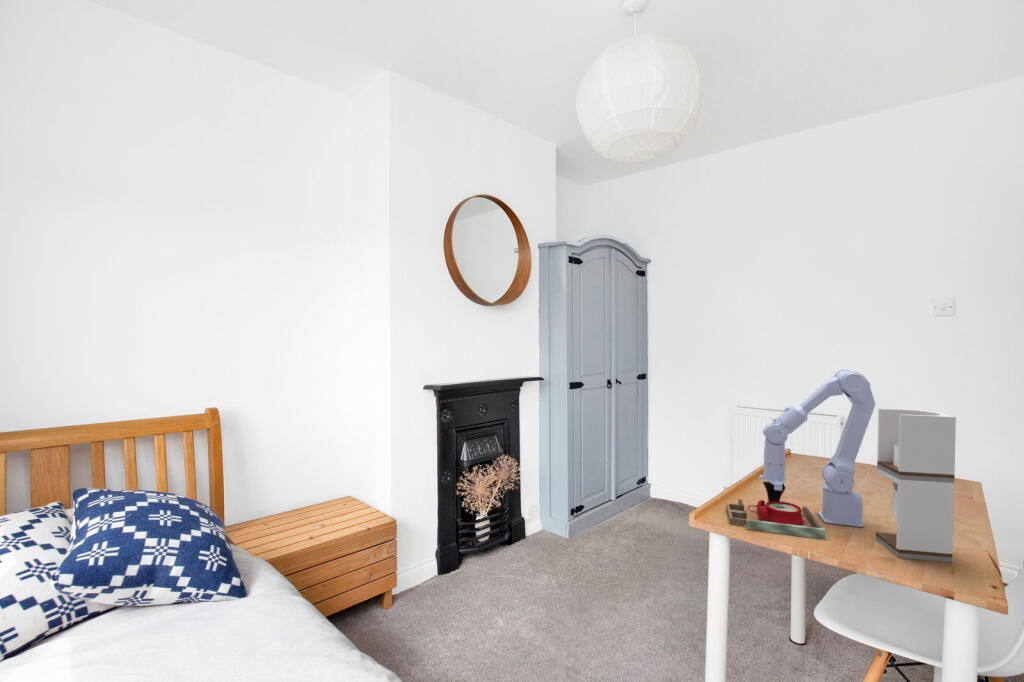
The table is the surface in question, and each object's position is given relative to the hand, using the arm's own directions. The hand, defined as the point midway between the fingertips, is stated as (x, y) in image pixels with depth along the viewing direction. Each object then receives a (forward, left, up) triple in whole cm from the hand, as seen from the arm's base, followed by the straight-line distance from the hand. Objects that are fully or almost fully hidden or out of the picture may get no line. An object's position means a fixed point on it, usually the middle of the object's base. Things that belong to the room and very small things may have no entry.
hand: (773, 506), depth 150 cm
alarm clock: (0, +6, -2) cm, 6 cm away
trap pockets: (+12, +9, -2) cm, 14 cm away
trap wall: (0, +7, -2) cm, 7 cm away
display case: (-29, +18, -2) cm, 34 cm away
